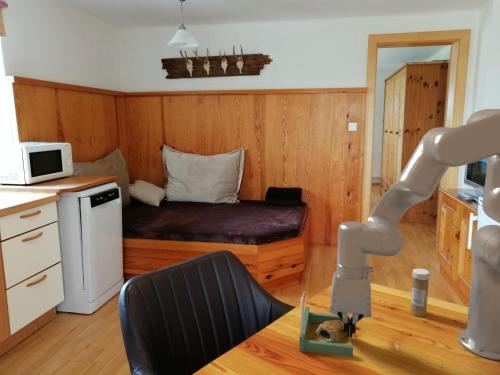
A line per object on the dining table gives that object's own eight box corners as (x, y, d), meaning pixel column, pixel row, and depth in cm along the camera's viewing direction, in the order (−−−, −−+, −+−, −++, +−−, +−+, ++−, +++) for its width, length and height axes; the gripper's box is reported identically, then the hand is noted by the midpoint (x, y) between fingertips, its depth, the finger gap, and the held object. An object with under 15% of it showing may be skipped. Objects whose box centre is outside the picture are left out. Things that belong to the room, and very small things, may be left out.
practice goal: (351, 324, 111) (353, 278, 108) (352, 357, 96) (354, 305, 93) (305, 319, 114) (305, 274, 112) (299, 351, 99) (299, 300, 96)
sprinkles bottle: (429, 314, 116) (433, 271, 113) (420, 318, 113) (423, 275, 111) (415, 308, 120) (418, 266, 117) (406, 312, 117) (409, 270, 115)
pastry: (332, 323, 112) (333, 311, 111) (353, 332, 108) (354, 319, 107) (313, 336, 106) (313, 323, 105) (335, 346, 101) (335, 333, 100)
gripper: (381, 266, 102) (377, 330, 105) (323, 262, 105) (321, 324, 109) (383, 278, 95) (380, 346, 98) (321, 273, 98) (320, 339, 101)
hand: (349, 334), depth 103 cm, fingers closed
